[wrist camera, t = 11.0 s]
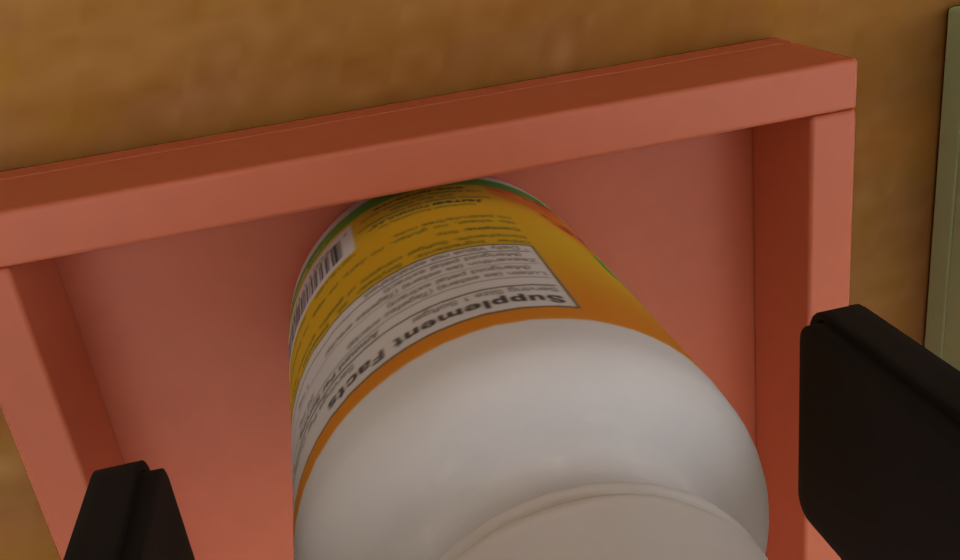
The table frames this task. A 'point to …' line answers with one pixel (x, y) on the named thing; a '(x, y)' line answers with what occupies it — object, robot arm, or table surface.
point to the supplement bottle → (500, 398)
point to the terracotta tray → (396, 169)
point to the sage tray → (947, 214)
